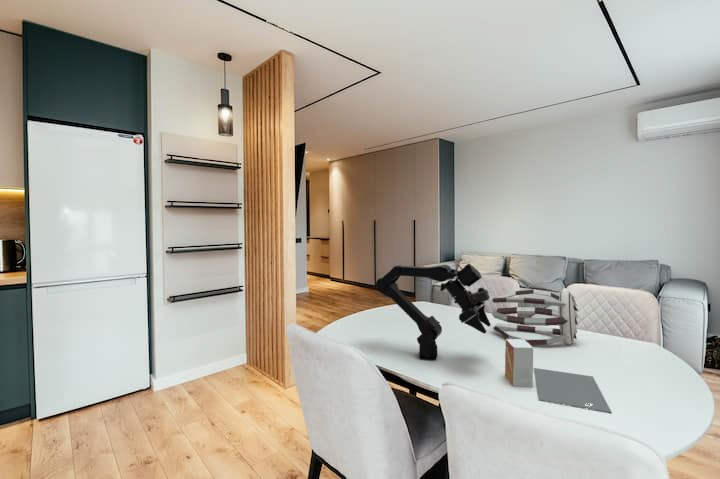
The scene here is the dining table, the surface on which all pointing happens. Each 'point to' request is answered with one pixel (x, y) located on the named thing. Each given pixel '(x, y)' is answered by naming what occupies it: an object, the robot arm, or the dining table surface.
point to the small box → (519, 362)
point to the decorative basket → (564, 318)
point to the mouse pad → (569, 389)
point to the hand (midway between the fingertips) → (487, 329)
